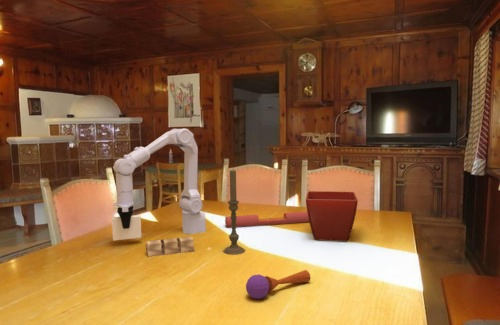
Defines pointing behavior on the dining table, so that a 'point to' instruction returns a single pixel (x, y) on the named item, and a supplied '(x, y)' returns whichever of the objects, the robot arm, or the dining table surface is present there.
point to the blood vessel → (268, 220)
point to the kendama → (272, 283)
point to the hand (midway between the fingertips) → (126, 227)
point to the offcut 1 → (154, 247)
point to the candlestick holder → (233, 218)
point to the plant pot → (331, 214)
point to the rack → (163, 248)
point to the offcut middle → (170, 246)
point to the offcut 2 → (186, 244)
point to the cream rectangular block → (129, 233)
